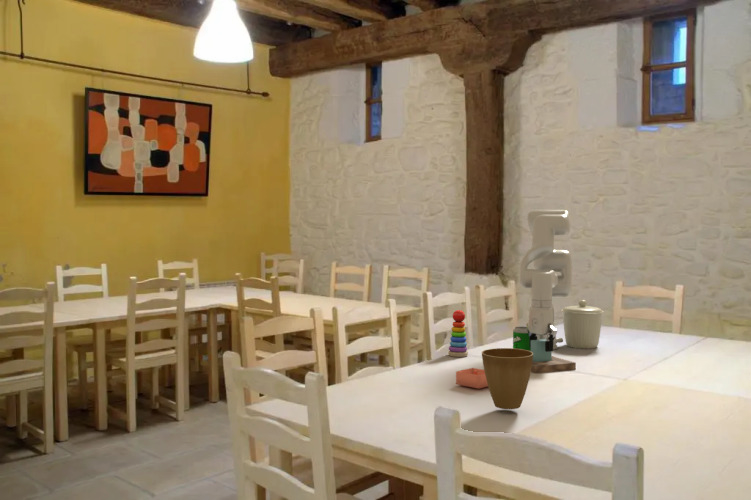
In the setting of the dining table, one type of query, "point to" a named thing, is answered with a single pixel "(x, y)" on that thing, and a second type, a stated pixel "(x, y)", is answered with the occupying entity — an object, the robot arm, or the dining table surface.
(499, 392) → the plant pot
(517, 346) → the soda can
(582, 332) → the canister
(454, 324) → the stacking toy
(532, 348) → the teal block
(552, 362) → the walnut board
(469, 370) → the pottery
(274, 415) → the dining table surface
